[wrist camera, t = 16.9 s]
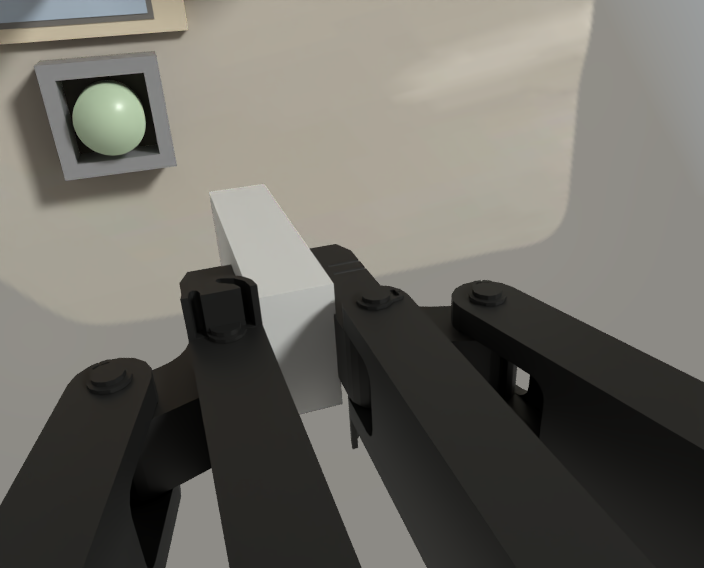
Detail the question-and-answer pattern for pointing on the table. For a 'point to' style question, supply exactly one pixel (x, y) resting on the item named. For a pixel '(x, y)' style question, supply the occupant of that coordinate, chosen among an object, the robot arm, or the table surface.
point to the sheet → (87, 18)
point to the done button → (109, 117)
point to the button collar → (63, 128)
